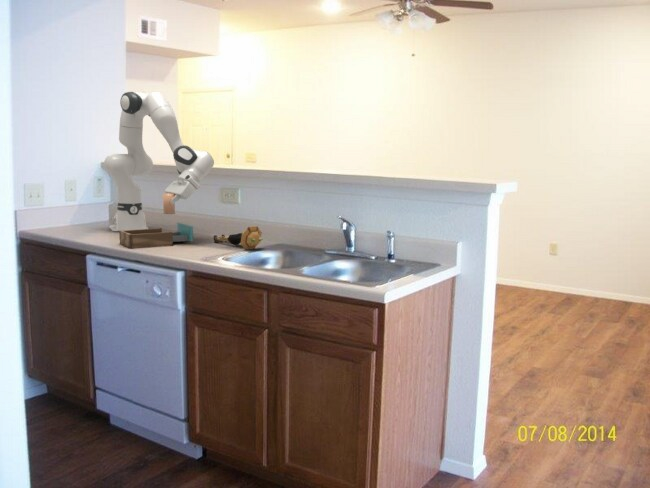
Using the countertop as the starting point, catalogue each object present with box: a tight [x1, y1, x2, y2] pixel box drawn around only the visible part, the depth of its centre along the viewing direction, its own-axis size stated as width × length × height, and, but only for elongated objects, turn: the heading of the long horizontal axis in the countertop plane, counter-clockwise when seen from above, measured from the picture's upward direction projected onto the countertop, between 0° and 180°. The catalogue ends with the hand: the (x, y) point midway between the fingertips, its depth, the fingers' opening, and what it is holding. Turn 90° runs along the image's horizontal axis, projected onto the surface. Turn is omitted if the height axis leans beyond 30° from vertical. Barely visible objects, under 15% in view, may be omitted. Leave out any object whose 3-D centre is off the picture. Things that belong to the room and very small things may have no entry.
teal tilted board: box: [172, 221, 194, 243], centre depth 283 cm, size 15×19×7 cm
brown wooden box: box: [118, 227, 174, 249], centre depth 278 cm, size 14×19×6 cm
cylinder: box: [162, 192, 176, 215], centre depth 282 cm, size 5×5×9 cm
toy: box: [213, 225, 263, 250], centre depth 281 cm, size 18×10×30 cm
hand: (167, 202), depth 281 cm, fingers closed on cylinder, 5 cm apart
